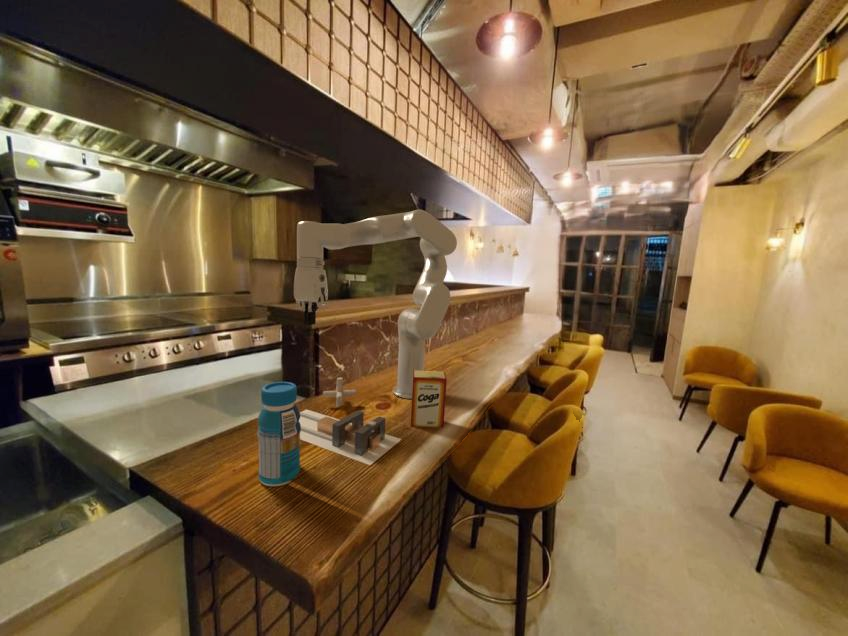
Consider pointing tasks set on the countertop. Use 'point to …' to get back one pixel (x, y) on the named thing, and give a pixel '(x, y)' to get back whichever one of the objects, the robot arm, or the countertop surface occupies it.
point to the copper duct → (348, 432)
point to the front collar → (362, 434)
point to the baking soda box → (428, 398)
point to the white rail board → (325, 441)
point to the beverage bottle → (279, 434)
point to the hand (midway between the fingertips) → (309, 324)
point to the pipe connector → (339, 392)
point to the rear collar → (339, 427)
